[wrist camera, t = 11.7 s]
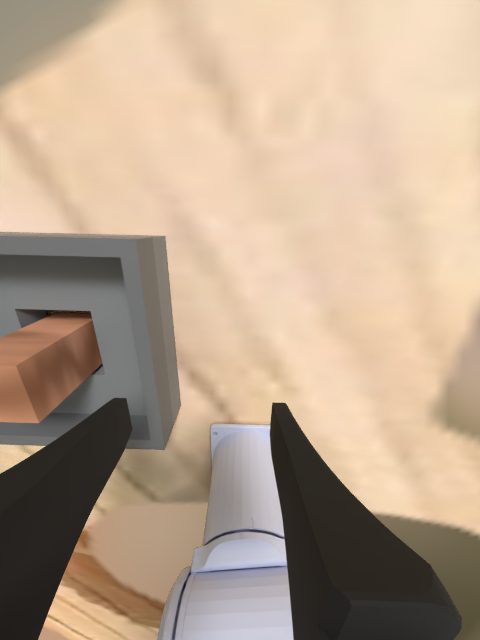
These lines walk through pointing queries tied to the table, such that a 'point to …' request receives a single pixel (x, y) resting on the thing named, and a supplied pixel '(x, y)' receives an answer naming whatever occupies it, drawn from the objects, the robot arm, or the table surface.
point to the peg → (45, 365)
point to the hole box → (98, 325)
